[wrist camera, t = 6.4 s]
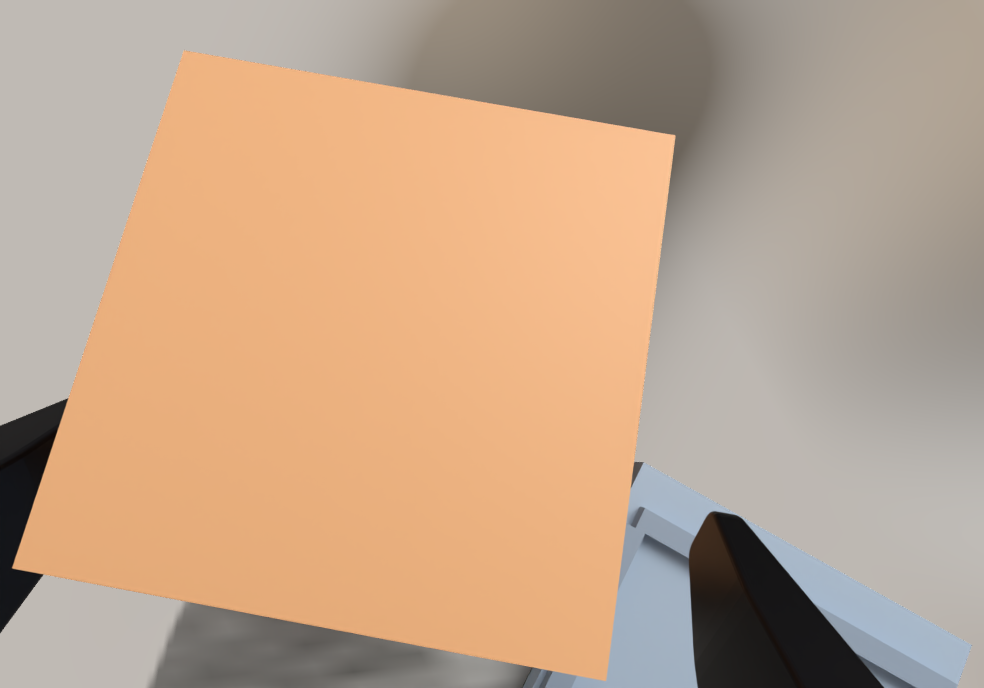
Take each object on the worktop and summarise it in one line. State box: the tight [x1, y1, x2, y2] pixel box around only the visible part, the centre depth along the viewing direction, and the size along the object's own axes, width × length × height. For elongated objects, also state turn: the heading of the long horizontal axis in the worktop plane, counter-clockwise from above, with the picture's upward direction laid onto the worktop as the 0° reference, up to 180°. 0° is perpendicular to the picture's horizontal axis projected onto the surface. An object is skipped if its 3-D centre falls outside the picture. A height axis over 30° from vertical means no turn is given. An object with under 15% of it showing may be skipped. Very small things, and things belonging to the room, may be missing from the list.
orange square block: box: [12, 51, 675, 681], centre depth 11 cm, size 6×6×13 cm
